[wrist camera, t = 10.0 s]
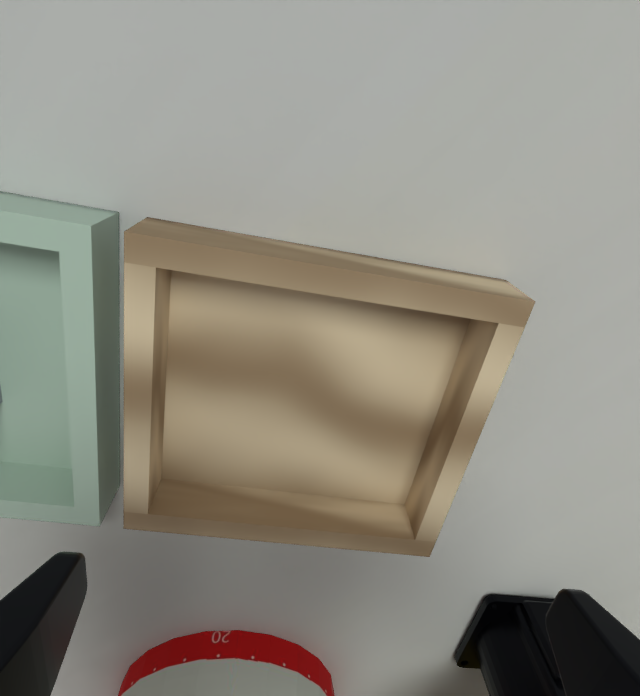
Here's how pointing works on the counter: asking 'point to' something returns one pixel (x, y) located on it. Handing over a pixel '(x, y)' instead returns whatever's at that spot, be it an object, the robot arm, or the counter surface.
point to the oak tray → (303, 388)
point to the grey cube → (0, 395)
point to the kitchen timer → (227, 668)
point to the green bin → (58, 360)
